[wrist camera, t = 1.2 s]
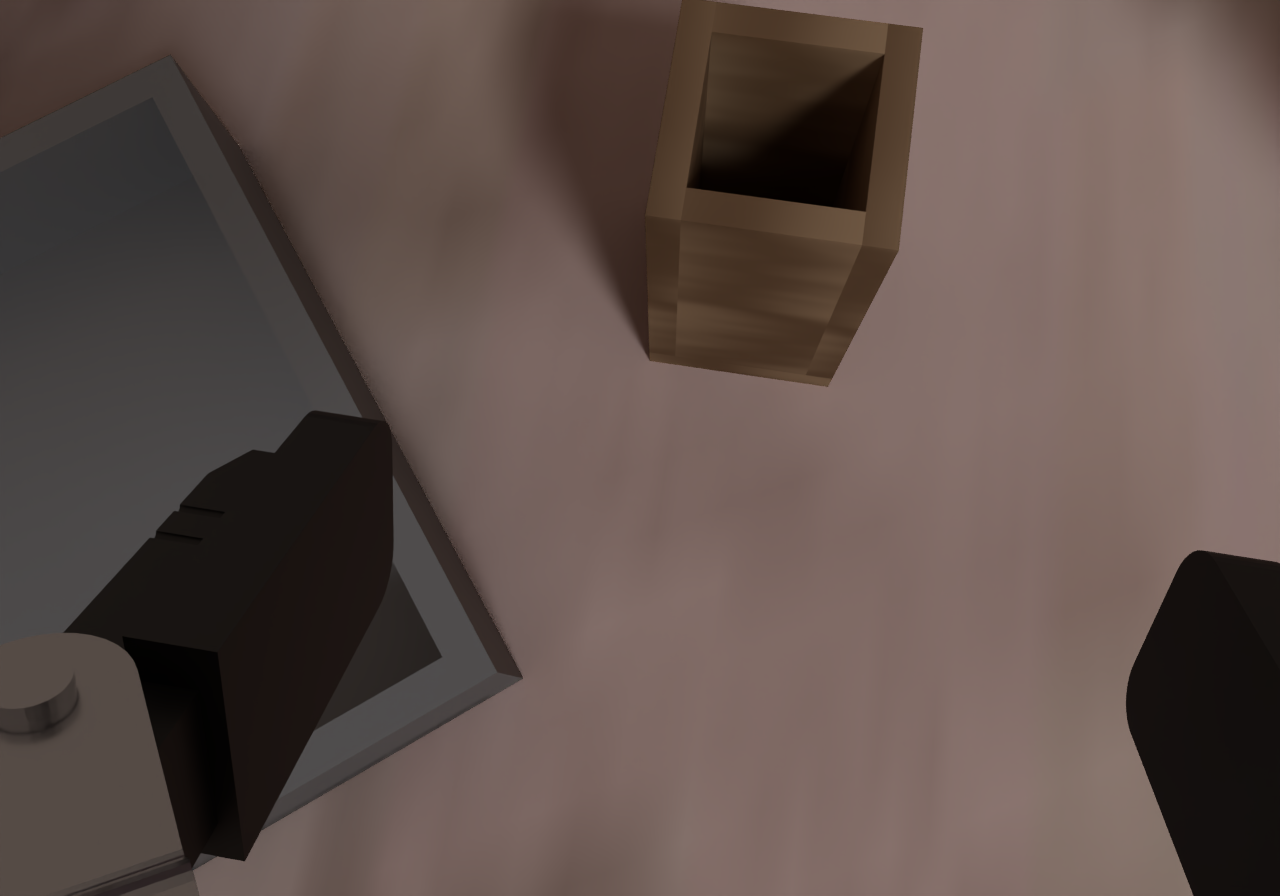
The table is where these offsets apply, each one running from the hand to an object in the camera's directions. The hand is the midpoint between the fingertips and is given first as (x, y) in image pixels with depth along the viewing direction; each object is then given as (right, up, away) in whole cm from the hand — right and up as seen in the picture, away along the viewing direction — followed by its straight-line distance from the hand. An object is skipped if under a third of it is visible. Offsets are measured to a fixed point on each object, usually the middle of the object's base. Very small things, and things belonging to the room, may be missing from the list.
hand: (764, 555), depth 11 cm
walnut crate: (+2, +6, +23) cm, 24 cm away
